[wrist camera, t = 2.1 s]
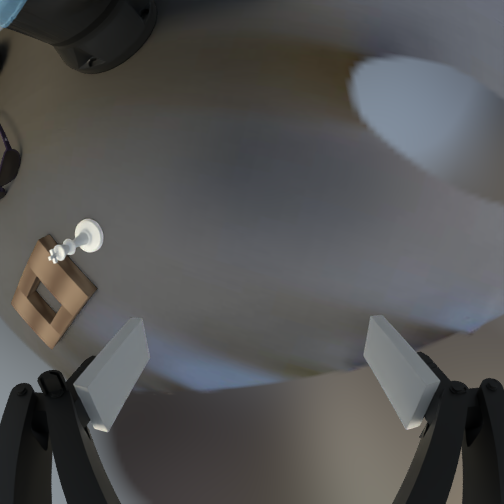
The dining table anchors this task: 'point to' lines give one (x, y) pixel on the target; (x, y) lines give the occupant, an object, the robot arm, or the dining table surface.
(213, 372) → the dining table surface
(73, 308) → the socket plate
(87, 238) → the chess piece
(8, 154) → the sunglasses
